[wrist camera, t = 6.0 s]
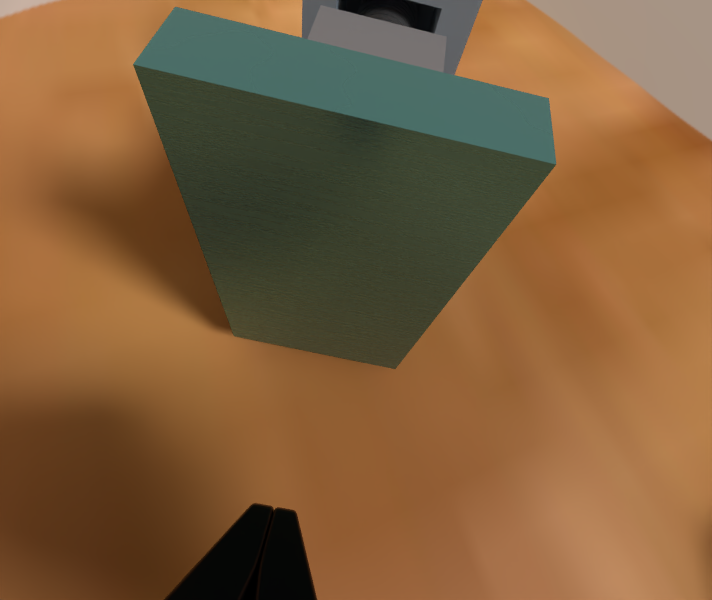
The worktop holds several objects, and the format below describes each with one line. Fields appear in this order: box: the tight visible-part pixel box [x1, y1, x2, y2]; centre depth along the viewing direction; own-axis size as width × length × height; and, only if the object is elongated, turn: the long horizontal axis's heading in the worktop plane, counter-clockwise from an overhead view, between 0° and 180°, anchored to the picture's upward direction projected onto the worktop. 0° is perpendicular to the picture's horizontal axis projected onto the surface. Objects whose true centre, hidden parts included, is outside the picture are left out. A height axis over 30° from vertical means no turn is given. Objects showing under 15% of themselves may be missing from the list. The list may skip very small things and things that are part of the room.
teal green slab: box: [133, 0, 556, 369], centre depth 13 cm, size 13×6×10 cm, turn 171°
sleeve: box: [308, 5, 447, 72], centre depth 14 cm, size 6×6×8 cm
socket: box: [302, 0, 482, 75], centre depth 17 cm, size 4×6×9 cm, turn 81°
